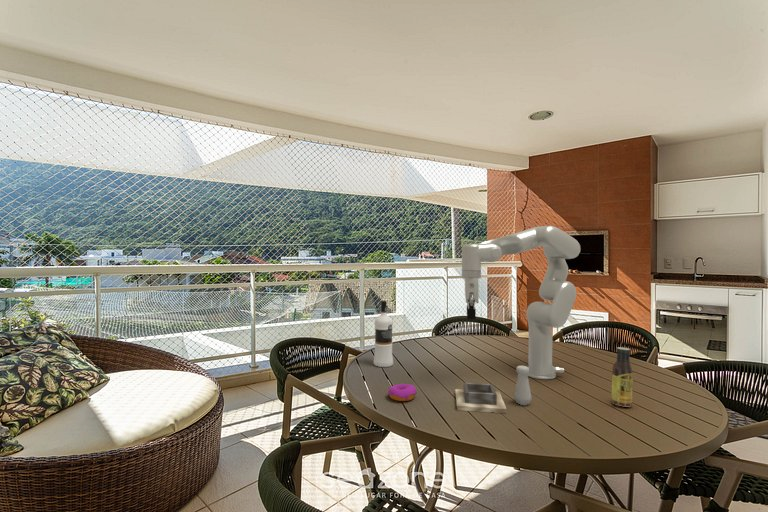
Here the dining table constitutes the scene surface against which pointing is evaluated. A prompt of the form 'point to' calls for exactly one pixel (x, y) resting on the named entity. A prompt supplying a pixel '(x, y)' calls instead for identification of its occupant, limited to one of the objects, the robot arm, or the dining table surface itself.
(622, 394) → the sauce bottle
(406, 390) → the donut
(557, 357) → the dining table surface
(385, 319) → the vodka
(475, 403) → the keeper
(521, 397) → the salt shaker
